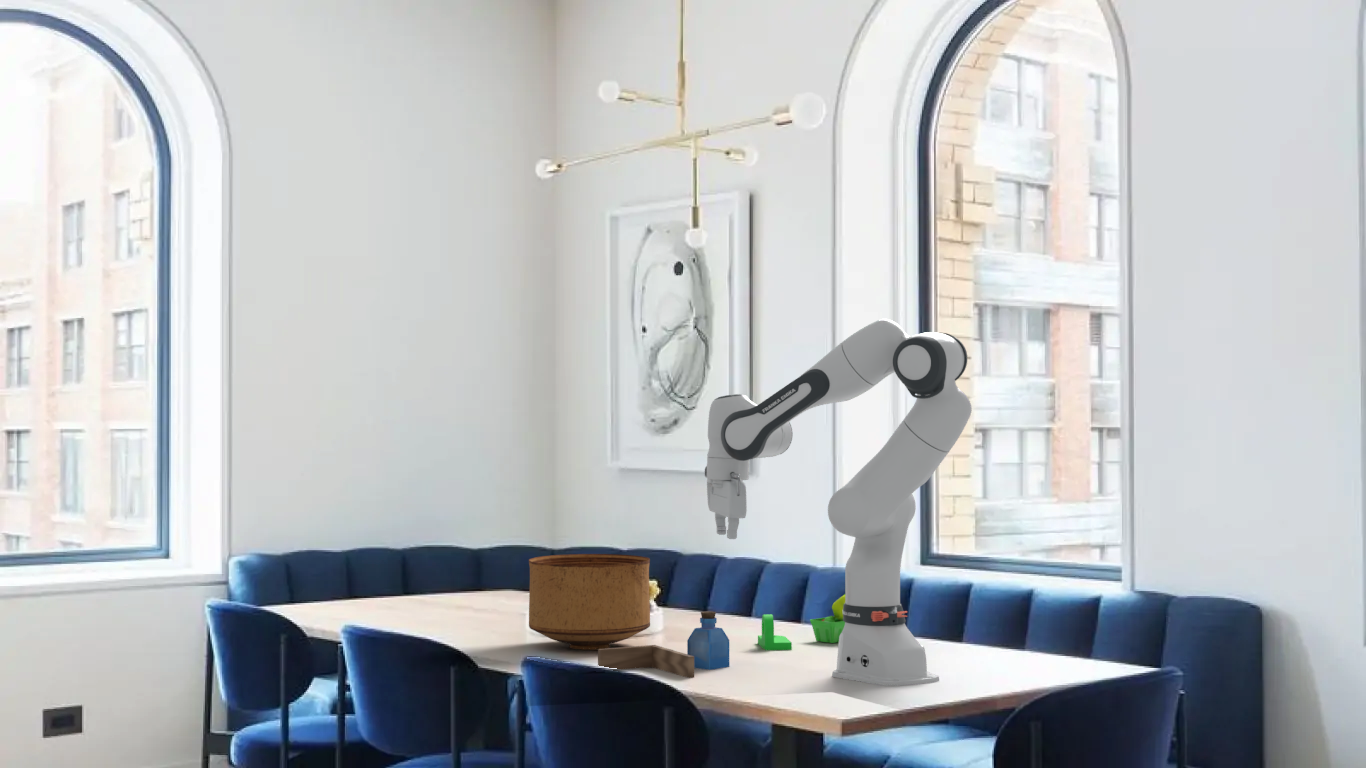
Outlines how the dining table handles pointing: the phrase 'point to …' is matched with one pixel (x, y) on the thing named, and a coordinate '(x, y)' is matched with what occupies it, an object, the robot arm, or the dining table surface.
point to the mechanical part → (772, 636)
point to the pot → (589, 598)
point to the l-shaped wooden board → (647, 659)
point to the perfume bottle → (709, 644)
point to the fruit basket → (830, 624)
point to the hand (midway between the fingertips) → (726, 536)
